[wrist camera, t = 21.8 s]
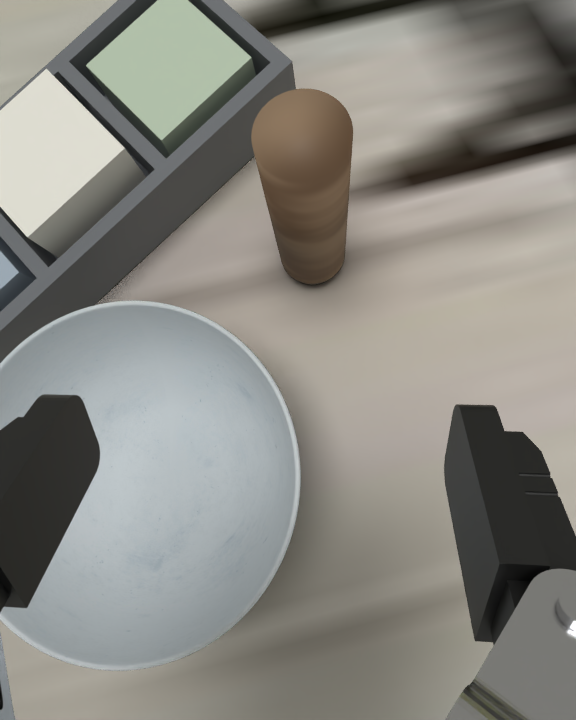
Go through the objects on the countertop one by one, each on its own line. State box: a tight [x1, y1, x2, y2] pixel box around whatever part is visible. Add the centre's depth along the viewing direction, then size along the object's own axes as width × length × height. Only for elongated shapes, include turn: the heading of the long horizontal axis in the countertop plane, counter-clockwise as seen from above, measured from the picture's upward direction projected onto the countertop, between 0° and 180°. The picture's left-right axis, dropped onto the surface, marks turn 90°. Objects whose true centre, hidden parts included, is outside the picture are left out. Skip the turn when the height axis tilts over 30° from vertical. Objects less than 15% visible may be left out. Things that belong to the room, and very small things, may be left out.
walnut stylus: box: [251, 89, 353, 284], centre depth 24 cm, size 4×4×12 cm
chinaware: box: [0, 301, 301, 671], centre depth 25 cm, size 15×15×8 cm
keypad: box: [0, 0, 296, 363], centre depth 30 cm, size 10×26×4 cm, turn 133°
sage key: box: [86, 0, 256, 159], centre depth 30 cm, size 6×6×4 cm
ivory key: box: [0, 69, 146, 258], centre depth 28 cm, size 6×6×4 cm
